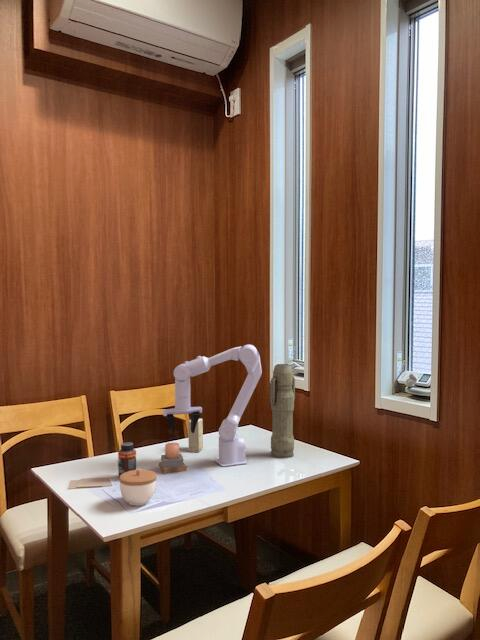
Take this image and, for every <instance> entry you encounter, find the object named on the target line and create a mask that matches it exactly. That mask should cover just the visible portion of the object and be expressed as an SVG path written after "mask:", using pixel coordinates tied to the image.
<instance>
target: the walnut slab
mask: <svg viewBox="0 0 480 640" xmlns="http://www.w3.org/2000/svg"><path fill="white" fill-rule="evenodd" d="M158 468H159V469H160V471H161V472H162V473H163V474H164V475H169V474H176V473H184V472H188V466H187V465H186V464H185V463H184V466H182V467H170V468H163V466H162V462H161V461H158Z"/></svg>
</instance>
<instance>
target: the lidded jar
mask: <svg viewBox="0 0 480 640" xmlns="http://www.w3.org/2000/svg"><path fill="white" fill-rule="evenodd" d="M157 475H158V474H157V473H156V472H155V471H153V470H149V469H139V468H138V469H136V470H132V471H128V472H125V473H123V474H121V475H120V477H119V476H118V479H119V489H120V490H119V491H120V494H121V497H122V498H123V499H124V500H125V501H126V502H127V504H128V503H129V504H128V505H130V504H131V505H130V506H134V505H136V506H143V505H146V504H148V503H149V501H150V500H151V499H152V498H153V496H154V495H155V492H156V489H157Z"/></svg>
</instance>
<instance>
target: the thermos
mask: <svg viewBox="0 0 480 640" xmlns="http://www.w3.org/2000/svg"><path fill="white" fill-rule="evenodd" d="M292 368H293V367H292V366H291V365H290V364H289V363H277V364H276V365H274V367H273V371H272V377H271V379H270V381H269V382H270V383H269V387H270V389H269V395H270V396H269V399H270V401H269V402H270V405H271V406H270V407H271V411H272V412H271V413H272V414H271V415H272V416H271V417H272V418H271V419H272V421H271V422H272V423H271V424H272V425H271V426H272V431H271V433H272V434H271V437H270V449H271V451H270V452H271V453H270V455H271V457H273V458H278V459H289V458H292V457H294V450H295V437H294V434H293V433H294V432H293V431H294V429H293V426H294V425H293V424H294V423H293V421H294V419H293V418H294V416H293V414H294V410H295V401H296V379H295V377H294V375H293V373H294V372H293V369H292Z"/></svg>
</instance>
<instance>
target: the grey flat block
mask: <svg viewBox="0 0 480 640" xmlns="http://www.w3.org/2000/svg"><path fill="white" fill-rule="evenodd" d="M160 457H161V459H160V462H162V466H163V468H170V467H182V466H184V464H185V463H184V462H185V461H184V457H183V455H182V453H179V458H177V459H166V458H165V454H161V456H160Z"/></svg>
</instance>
